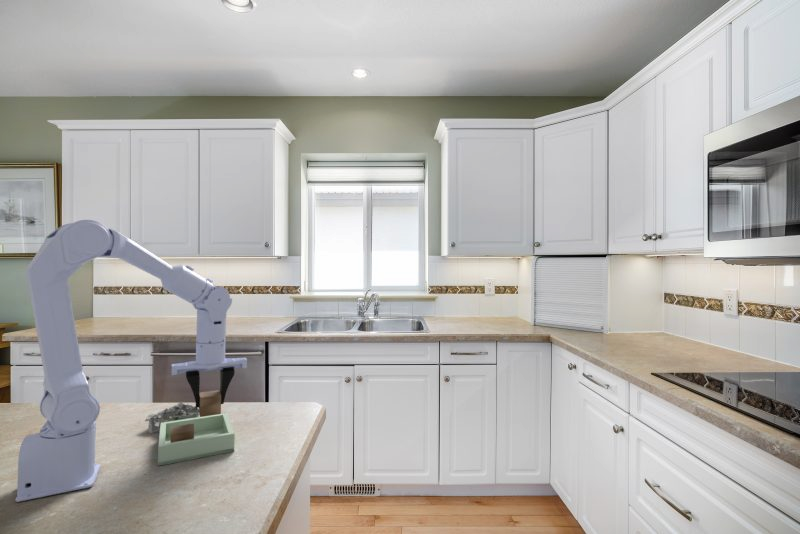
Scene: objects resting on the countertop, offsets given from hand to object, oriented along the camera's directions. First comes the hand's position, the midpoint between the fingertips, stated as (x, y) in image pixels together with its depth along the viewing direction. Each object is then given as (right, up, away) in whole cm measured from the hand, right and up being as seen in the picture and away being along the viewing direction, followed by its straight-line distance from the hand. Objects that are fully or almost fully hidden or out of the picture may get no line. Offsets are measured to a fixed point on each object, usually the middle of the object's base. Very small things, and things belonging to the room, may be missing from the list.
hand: (209, 404), depth 84 cm
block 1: (-2, -7, -7) cm, 10 cm away
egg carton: (-12, -8, +7) cm, 16 cm away
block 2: (0, -2, 0) cm, 2 cm away
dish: (-1, -7, -4) cm, 8 cm away
